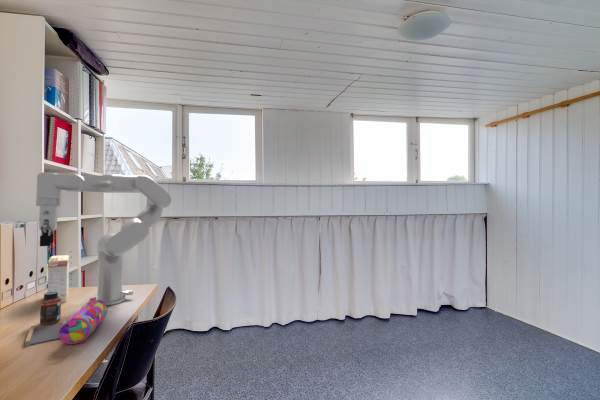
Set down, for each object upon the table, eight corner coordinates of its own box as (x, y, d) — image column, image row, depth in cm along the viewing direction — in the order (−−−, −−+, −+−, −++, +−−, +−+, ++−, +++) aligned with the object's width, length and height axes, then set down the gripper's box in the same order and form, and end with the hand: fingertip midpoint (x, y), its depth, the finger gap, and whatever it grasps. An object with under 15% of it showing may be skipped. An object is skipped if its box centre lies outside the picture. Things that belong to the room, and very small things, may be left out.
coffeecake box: (50, 295, 139) (51, 255, 139) (68, 293, 143) (69, 254, 143) (46, 305, 127) (47, 261, 127) (66, 302, 131) (67, 259, 131)
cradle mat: (66, 323, 108) (66, 319, 108) (65, 337, 97) (65, 333, 97) (30, 330, 102) (30, 326, 102) (25, 346, 91) (25, 341, 91)
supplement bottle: (64, 320, 111) (64, 291, 111) (46, 326, 106) (47, 296, 106) (54, 318, 113) (54, 289, 113) (36, 324, 107) (36, 294, 108)
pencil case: (79, 321, 111) (79, 298, 111) (107, 318, 114) (108, 296, 114) (56, 348, 90) (57, 320, 91) (91, 343, 94) (92, 316, 94)
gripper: (58, 203, 112) (56, 246, 112) (62, 202, 126) (60, 241, 126) (32, 202, 108) (30, 248, 107) (39, 202, 122) (37, 242, 121)
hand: (46, 244), depth 117 cm, fingers open, 9 cm apart
